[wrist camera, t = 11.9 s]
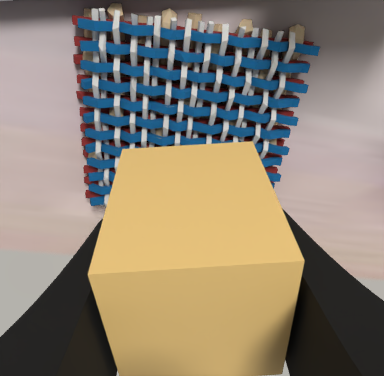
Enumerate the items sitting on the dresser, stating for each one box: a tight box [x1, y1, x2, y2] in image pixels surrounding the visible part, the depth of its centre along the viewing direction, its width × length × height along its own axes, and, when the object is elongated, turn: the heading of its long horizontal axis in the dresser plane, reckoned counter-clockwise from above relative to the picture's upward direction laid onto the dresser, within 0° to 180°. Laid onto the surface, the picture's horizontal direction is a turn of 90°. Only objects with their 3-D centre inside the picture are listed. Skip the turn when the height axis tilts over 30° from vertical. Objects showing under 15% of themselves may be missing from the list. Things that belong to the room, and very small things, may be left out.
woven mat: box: [72, 3, 320, 207], centre depth 17 cm, size 10×11×2 cm
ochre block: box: [88, 141, 305, 376], centre depth 9 cm, size 4×4×5 cm
